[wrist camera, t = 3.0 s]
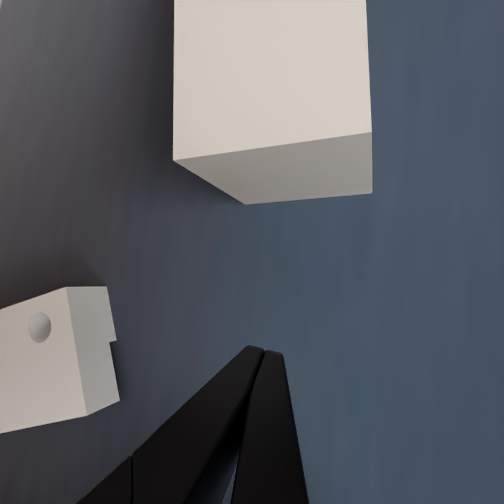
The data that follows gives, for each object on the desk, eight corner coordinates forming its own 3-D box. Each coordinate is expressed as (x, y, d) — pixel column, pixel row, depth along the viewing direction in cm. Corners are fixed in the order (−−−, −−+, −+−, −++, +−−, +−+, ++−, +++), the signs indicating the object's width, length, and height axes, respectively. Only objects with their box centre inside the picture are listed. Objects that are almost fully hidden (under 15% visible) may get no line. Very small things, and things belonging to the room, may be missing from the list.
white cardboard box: (372, 193, 18) (371, 131, 11) (246, 205, 21) (172, 160, 13) (361, -53, 20) (353, -259, 12) (243, -17, 22) (175, -173, 14)
